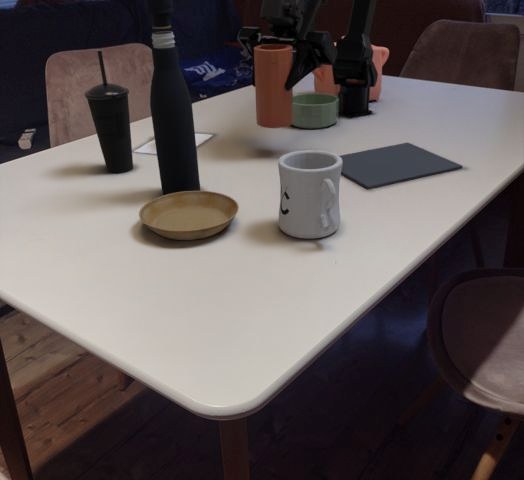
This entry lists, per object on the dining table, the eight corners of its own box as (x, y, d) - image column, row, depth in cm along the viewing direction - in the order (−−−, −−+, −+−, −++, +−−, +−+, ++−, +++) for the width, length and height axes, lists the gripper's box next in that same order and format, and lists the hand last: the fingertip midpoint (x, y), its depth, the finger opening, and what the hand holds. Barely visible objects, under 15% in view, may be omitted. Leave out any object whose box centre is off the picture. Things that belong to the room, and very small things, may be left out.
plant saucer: (259, 223, 88) (259, 207, 86) (182, 257, 80) (180, 239, 78) (197, 199, 97) (196, 183, 95) (122, 227, 88) (119, 210, 87)
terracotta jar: (282, 116, 115) (281, 42, 107) (298, 124, 110) (299, 48, 102) (250, 121, 113) (247, 46, 105) (265, 130, 108) (264, 52, 100)
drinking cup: (145, 161, 113) (127, 46, 101) (134, 175, 107) (114, 54, 95) (107, 161, 113) (85, 47, 102) (94, 175, 107) (69, 55, 96)
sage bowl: (321, 113, 137) (322, 90, 134) (346, 124, 129) (348, 100, 126) (279, 120, 133) (279, 97, 130) (302, 132, 125) (303, 107, 122)
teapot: (295, 95, 152) (295, 35, 144) (372, 87, 157) (376, 28, 148) (324, 114, 136) (326, 48, 128) (408, 104, 141) (416, 39, 133)
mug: (269, 221, 88) (267, 154, 83) (323, 210, 91) (325, 145, 85) (302, 255, 79) (302, 183, 73) (361, 243, 81) (367, 172, 76)
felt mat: (407, 144, 116) (407, 142, 116) (462, 168, 104) (462, 165, 104) (319, 162, 109) (319, 159, 109) (367, 189, 98) (368, 186, 97)
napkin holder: (182, 156, 115) (179, 126, 111) (132, 151, 118) (127, 122, 115) (213, 134, 126) (211, 106, 123) (167, 131, 129) (163, 103, 126)
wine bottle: (194, 201, 96) (171, -13, 78) (157, 200, 97) (126, -13, 79) (205, 187, 101) (185, -18, 83) (169, 186, 102) (143, -17, 84)
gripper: (239, -25, 104) (206, 54, 104) (332, -24, 95) (296, 63, 95) (265, 19, 114) (236, 92, 113) (351, 24, 105) (319, 103, 105)
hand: (269, 87), depth 106 cm, fingers closed on terracotta jar, 7 cm apart
